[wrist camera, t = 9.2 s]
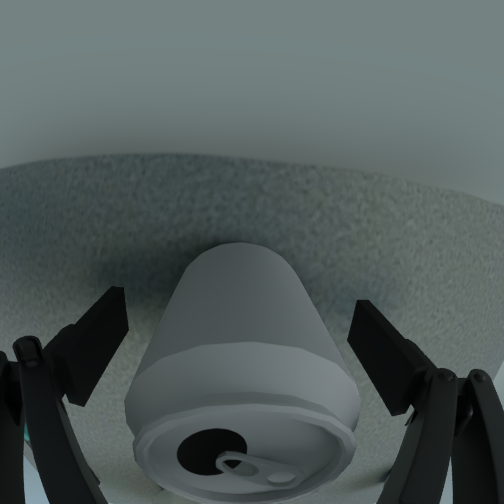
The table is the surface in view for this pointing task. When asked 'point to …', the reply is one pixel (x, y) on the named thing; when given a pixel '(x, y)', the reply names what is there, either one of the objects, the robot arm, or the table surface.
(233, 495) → the can
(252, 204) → the table surface
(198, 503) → the vase
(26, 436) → the button
